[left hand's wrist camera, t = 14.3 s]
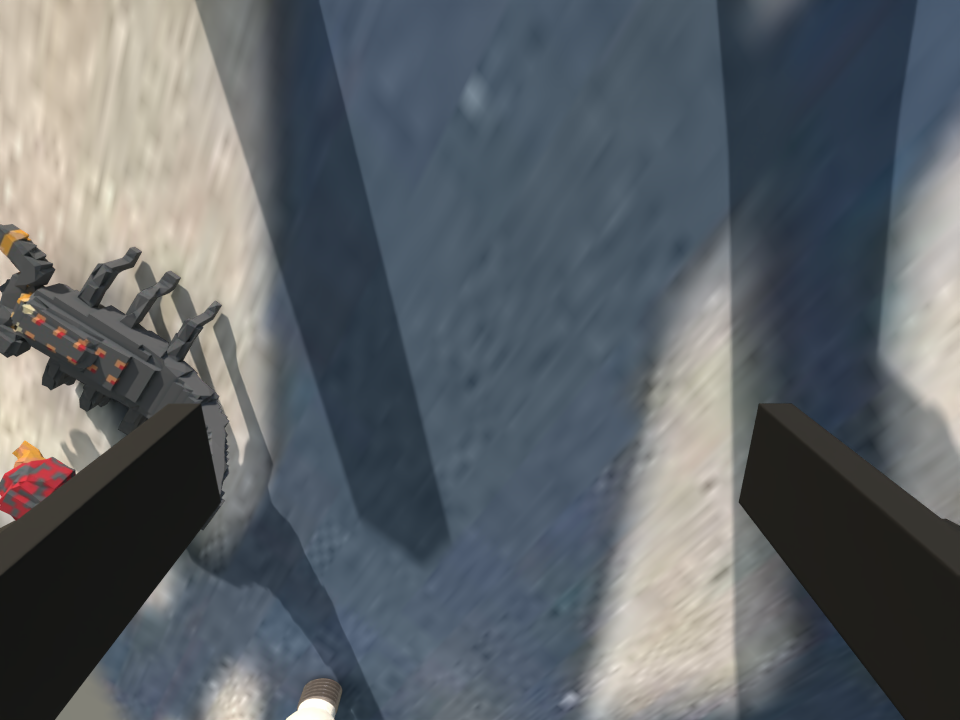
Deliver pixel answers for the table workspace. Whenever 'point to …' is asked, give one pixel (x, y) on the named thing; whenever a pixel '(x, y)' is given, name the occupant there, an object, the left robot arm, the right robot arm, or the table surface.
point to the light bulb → (318, 701)
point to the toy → (96, 358)
